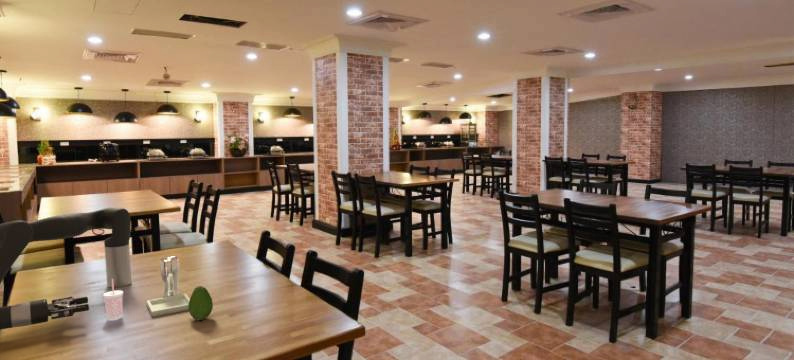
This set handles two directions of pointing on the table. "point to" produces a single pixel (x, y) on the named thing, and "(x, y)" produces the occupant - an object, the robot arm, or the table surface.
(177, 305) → the tray
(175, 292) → the metal tumbler
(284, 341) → the table surface
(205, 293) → the avocado
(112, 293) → the beverage cup
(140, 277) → the table surface
